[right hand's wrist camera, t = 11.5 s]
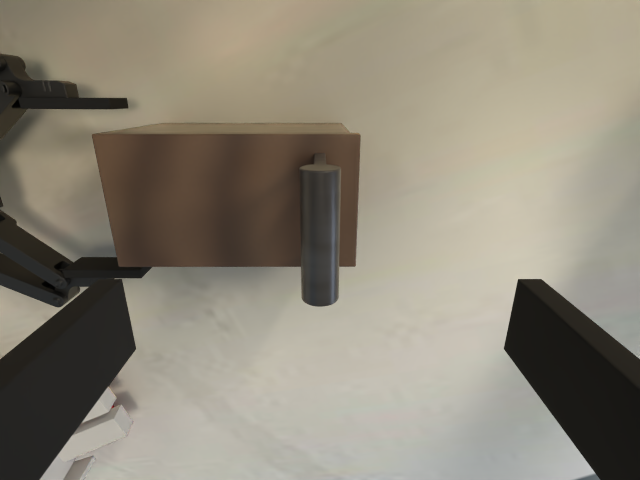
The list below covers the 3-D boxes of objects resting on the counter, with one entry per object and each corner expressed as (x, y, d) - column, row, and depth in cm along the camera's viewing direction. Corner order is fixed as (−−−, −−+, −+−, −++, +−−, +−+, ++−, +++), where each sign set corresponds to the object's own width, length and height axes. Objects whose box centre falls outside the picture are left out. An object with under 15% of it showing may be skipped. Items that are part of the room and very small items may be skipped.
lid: (359, 132, 25) (377, 148, 17) (354, 261, 28) (368, 323, 20) (99, 132, 25) (-2, 148, 17) (125, 261, 28) (50, 324, 20)
